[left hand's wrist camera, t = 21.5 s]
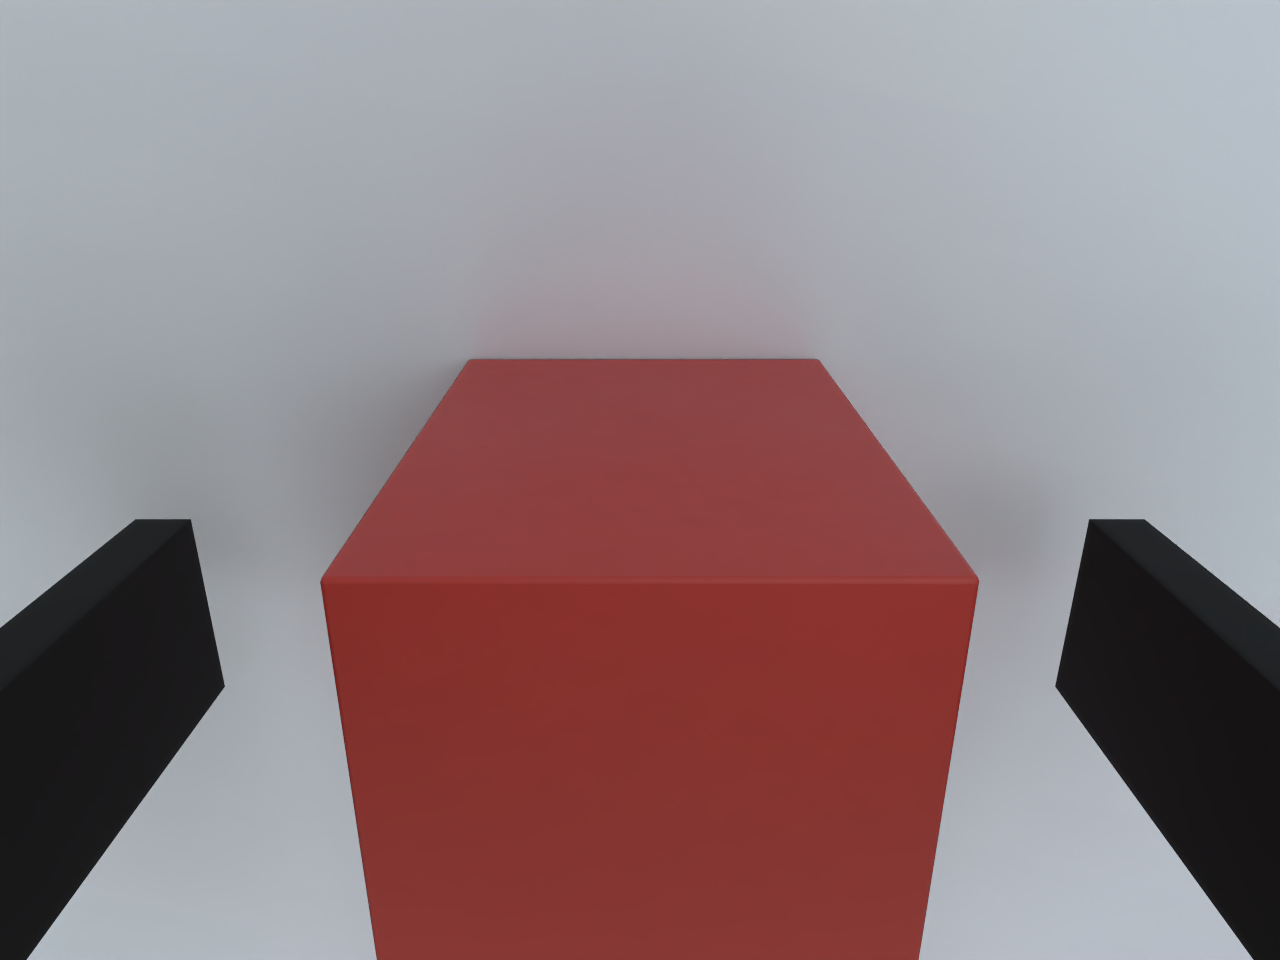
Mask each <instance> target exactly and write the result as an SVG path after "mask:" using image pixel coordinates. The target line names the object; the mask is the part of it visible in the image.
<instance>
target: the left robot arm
mask: <svg viewBox="0 0 1280 960" xmlns="http://www.w3.org/2000/svg"><path fill="white" fill-rule="evenodd" d="M224 687H225V685H224V680H223V676H222V671H221V666H220V661H219V656H218V651H217V646H216V641H215V636H214V631H213V626H212V621H211V617H210V612H209V607H208V602H207V597H206V592H205V587H204V582H203V577H202V572H201V567H200V563H199V558H198V553H197V548H196V543H195V538H194V533H193V528H192V523H191V519H135V520H134V521H133V522H132V523H130V524H129V525H128V526H127V527H126V528H124V529H123V530H122V531H121V532H119V533H118V534H117V535H116V536H114V537H113V538H112V539H111V540H109V541H108V542H107V543H106V544H104V545H103V546H102V547H101V548H99V549H98V550H97V551H96V552H94V553H93V554H92V555H91V556H89V557H88V558H87V559H86V560H84V561H83V562H82V563H81V564H79V565H78V566H77V567H76V568H74V569H73V570H72V571H71V572H69V573H68V574H67V575H66V576H64V577H63V578H62V579H61V580H59V581H58V582H57V583H56V584H55V585H53V586H52V587H51V588H50V589H48V590H47V591H46V592H45V593H43V594H42V595H41V596H40V597H38V598H37V599H36V600H35V601H33V602H32V603H31V604H30V605H28V606H27V607H26V608H25V609H23V610H22V611H21V612H20V613H18V614H17V615H16V616H15V617H13V618H12V619H11V620H10V621H8V622H7V623H6V624H5V625H3V626H2V627H1V628H0V960H27V958H28V957H29V955H30V954H31V953H32V951H33V950H34V949H35V947H36V946H37V944H38V943H39V942H40V940H41V939H42V938H43V936H44V935H45V933H46V932H47V931H48V929H49V928H50V927H51V925H52V924H53V922H54V921H55V920H56V918H57V917H58V916H59V914H60V913H61V911H62V910H63V909H64V907H65V906H66V905H67V903H68V902H69V900H70V899H71V898H72V896H73V895H74V894H75V892H76V891H77V889H78V888H79V887H80V885H81V884H82V882H83V881H84V880H85V878H86V877H87V876H88V874H89V873H90V871H91V870H92V869H93V867H94V866H95V865H96V863H97V862H98V860H99V859H100V858H101V856H102V855H103V854H104V852H105V851H106V849H107V848H108V847H109V845H110V844H111V843H112V841H113V840H114V838H115V837H116V836H117V834H118V833H119V832H120V830H121V829H122V827H123V826H124V825H125V823H126V822H127V820H128V819H129V818H130V816H131V815H132V814H133V812H134V811H135V809H136V808H137V807H138V805H139V804H140V803H141V801H142V800H143V798H144V797H145V796H146V794H147V793H148V792H149V790H150V789H151V787H152V786H153V785H154V783H155V782H156V781H157V779H158V778H159V776H160V775H161V774H162V772H163V771H164V770H165V768H166V767H167V765H168V764H169V763H170V761H171V760H172V758H173V757H174V756H175V754H176V753H177V752H178V750H179V749H180V747H181V746H182V745H183V743H184V742H185V741H186V739H187V738H188V736H189V735H190V734H191V732H192V731H193V730H194V728H195V727H196V725H197V724H198V723H199V721H200V720H201V719H202V717H203V716H204V714H205V713H206V712H207V710H208V709H209V708H210V706H211V705H212V703H213V702H214V701H215V699H216V698H217V696H218V695H219V694H220V692H221V691H222V690H223V688H224ZM1055 687H1056V688H1057V690H1058V691H1059V692H1060V694H1061V695H1062V696H1063V698H1064V699H1065V701H1066V702H1067V703H1068V705H1069V706H1070V707H1071V709H1072V710H1073V712H1074V713H1075V714H1076V716H1077V717H1078V719H1079V720H1080V721H1081V723H1082V724H1083V725H1084V727H1085V728H1086V730H1087V731H1088V732H1089V734H1090V735H1091V736H1092V738H1093V739H1094V741H1095V742H1096V743H1097V745H1098V746H1099V747H1100V749H1101V750H1102V752H1103V753H1104V754H1105V756H1106V757H1107V758H1108V760H1109V761H1110V763H1111V764H1112V765H1113V767H1114V768H1115V769H1116V771H1117V772H1118V774H1119V775H1120V776H1121V778H1122V779H1123V780H1124V782H1125V783H1126V785H1127V786H1128V787H1129V789H1130V790H1131V792H1132V793H1133V794H1134V796H1135V797H1136V798H1137V800H1138V801H1139V803H1140V804H1141V805H1142V807H1143V808H1144V809H1145V811H1146V812H1147V814H1148V815H1149V816H1150V818H1151V819H1152V820H1153V822H1154V823H1155V825H1156V826H1157V827H1158V829H1159V830H1160V831H1161V833H1162V834H1163V836H1164V837H1165V838H1166V840H1167V841H1168V842H1169V844H1170V845H1171V847H1172V848H1173V849H1174V851H1175V852H1176V854H1177V855H1178V856H1179V858H1180V859H1181V860H1182V862H1183V863H1184V865H1185V866H1186V867H1187V869H1188V870H1189V871H1190V873H1191V874H1192V876H1193V877H1194V878H1195V880H1196V881H1197V882H1198V884H1199V885H1200V887H1201V888H1202V889H1203V891H1204V892H1205V893H1206V895H1207V896H1208V898H1209V899H1210V900H1211V902H1212V903H1213V904H1214V906H1215V907H1216V909H1217V910H1218V911H1219V913H1220V914H1221V916H1222V917H1223V918H1224V920H1225V921H1226V922H1227V924H1228V925H1229V927H1230V928H1231V929H1232V931H1233V932H1234V933H1235V935H1236V936H1237V938H1238V939H1239V940H1240V942H1241V943H1242V944H1243V946H1244V947H1245V949H1246V950H1247V951H1248V953H1249V954H1250V955H1251V957H1252V958H1253V960H1280V628H1279V627H1278V626H1277V625H1275V624H1274V623H1273V622H1272V621H1270V620H1269V619H1268V618H1267V617H1265V616H1264V615H1263V614H1262V613H1260V612H1259V611H1258V610H1257V609H1255V608H1254V607H1253V606H1252V605H1250V604H1249V603H1248V602H1247V601H1245V600H1244V599H1243V598H1242V597H1240V596H1239V595H1238V594H1237V593H1235V592H1234V591H1233V590H1232V589H1230V588H1229V587H1228V586H1227V585H1226V584H1224V583H1223V582H1222V581H1221V580H1219V579H1218V578H1217V577H1216V576H1214V575H1213V574H1212V573H1211V572H1209V571H1208V570H1207V569H1206V568H1204V567H1203V566H1202V565H1201V564H1199V563H1198V562H1197V561H1196V560H1194V559H1193V558H1192V557H1191V556H1189V555H1188V554H1187V553H1186V552H1184V551H1183V550H1182V549H1181V548H1179V547H1178V546H1177V545H1176V544H1174V543H1173V542H1172V541H1171V540H1169V539H1168V538H1167V537H1166V536H1164V535H1163V534H1162V533H1161V532H1160V531H1158V530H1157V529H1156V528H1155V527H1153V526H1152V525H1151V524H1150V523H1148V522H1147V521H1146V520H1145V519H1089V523H1088V528H1087V533H1086V538H1085V543H1084V548H1083V553H1082V558H1081V563H1080V568H1079V573H1078V577H1077V582H1076V587H1075V592H1074V597H1073V602H1072V607H1071V612H1070V617H1069V622H1068V627H1067V631H1066V636H1065V641H1064V646H1063V651H1062V656H1061V661H1060V666H1059V671H1058V676H1057V681H1056V685H1055Z"/></svg>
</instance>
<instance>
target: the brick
mask: <svg viewBox="0 0 1280 960" xmlns="http://www.w3.org/2000/svg"><path fill="white" fill-rule="evenodd" d="M320 583H321V589H322V596H323V603H324V609H325V616H326V623H327V629H328V636H329V643H330V649H331V656H332V663H333V669H334V676H335V683H336V690H337V696H338V703H339V710H340V716H341V723H342V730H343V736H344V743H345V750H346V756H347V763H348V770H349V776H350V783H351V790H352V796H353V803H354V810H355V816H356V823H357V830H358V837H359V843H360V850H361V857H362V863H363V870H364V877H365V883H366V890H367V897H368V903H369V910H370V917H371V923H372V930H373V937H374V943H375V950H376V957H377V960H919V953H920V947H921V941H922V935H923V928H924V922H925V916H926V910H927V903H928V897H929V891H930V885H931V878H932V872H933V866H934V860H935V853H936V847H937V841H938V835H939V828H940V822H941V816H942V810H943V804H944V797H945V791H946V785H947V779H948V772H949V766H950V760H951V754H952V747H953V741H954V735H955V729H956V722H957V716H958V710H959V704H960V697H961V691H962V685H963V679H964V672H965V666H966V660H967V654H968V647H969V641H970V635H971V629H972V622H973V616H974V610H975V604H976V597H977V591H978V585H979V580H978V577H977V575H976V574H975V573H974V571H973V570H972V569H971V567H970V566H969V564H968V563H967V562H966V560H965V559H964V558H963V556H962V555H961V553H960V552H959V551H958V549H957V548H956V547H955V545H954V544H953V543H952V541H951V540H950V538H949V537H948V536H947V534H946V533H945V532H944V530H943V529H942V528H941V526H940V525H939V523H938V522H937V521H936V519H935V518H934V517H933V515H932V514H931V513H930V511H929V510H928V508H927V507H926V506H925V504H924V503H923V502H922V500H921V499H920V497H919V496H918V495H917V493H916V492H915V491H914V489H913V488H912V487H911V485H910V484H909V482H908V481H907V480H906V478H905V477H904V476H903V474H902V473H901V472H900V470H899V469H898V467H897V466H896V465H895V463H894V462H893V461H892V459H891V458H890V457H889V455H888V454H887V452H886V451H885V450H884V448H883V447H882V446H881V444H880V443H879V441H878V440H877V439H876V437H875V436H874V435H873V433H872V432H871V431H870V429H869V428H868V426H867V425H866V424H865V422H864V421H863V420H862V418H861V417H860V416H859V414H858V413H857V411H856V410H855V409H854V407H853V406H852V405H851V403H850V402H849V400H848V399H847V398H846V396H845V395H844V394H843V392H842V391H841V390H840V388H839V387H838V385H837V384H836V383H835V381H834V380H833V379H832V377H831V376H830V375H829V373H828V372H827V370H826V369H825V368H824V366H823V365H822V364H821V362H820V361H819V360H469V361H468V362H467V364H466V365H465V367H464V368H463V370H462V371H461V372H460V374H459V375H458V377H457V378H456V380H455V381H454V383H453V384H452V386H451V387H450V389H449V390H448V392H447V393H446V395H445V396H444V398H443V399H442V401H441V402H440V404H439V405H438V406H437V408H436V409H435V411H434V412H433V414H432V415H431V417H430V418H429V420H428V421H427V423H426V424H425V426H424V427H423V429H422V430H421V432H420V433H419V435H418V436H417V438H416V439H415V441H414V442H413V443H412V445H411V446H410V448H409V449H408V451H407V452H406V454H405V455H404V457H403V458H402V460H401V461H400V463H399V464H398V466H397V467H396V469H395V470H394V472H393V473H392V475H391V476H390V477H389V479H388V480H387V482H386V483H385V485H384V486H383V488H382V489H381V491H380V492H379V494H378V495H377V497H376V498H375V500H374V501H373V503H372V504H371V506H370V507H369V509H368V510H367V511H366V513H365V514H364V516H363V517H362V519H361V520H360V522H359V523H358V525H357V526H356V528H355V529H354V531H353V532H352V534H351V535H350V537H349V538H348V540H347V541H346V543H345V544H344V545H343V547H342V548H341V550H340V551H339V553H338V554H337V556H336V557H335V559H334V560H333V562H332V563H331V565H330V566H329V568H328V569H327V571H326V572H325V574H324V575H323V577H322V579H321V582H320Z"/></svg>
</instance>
